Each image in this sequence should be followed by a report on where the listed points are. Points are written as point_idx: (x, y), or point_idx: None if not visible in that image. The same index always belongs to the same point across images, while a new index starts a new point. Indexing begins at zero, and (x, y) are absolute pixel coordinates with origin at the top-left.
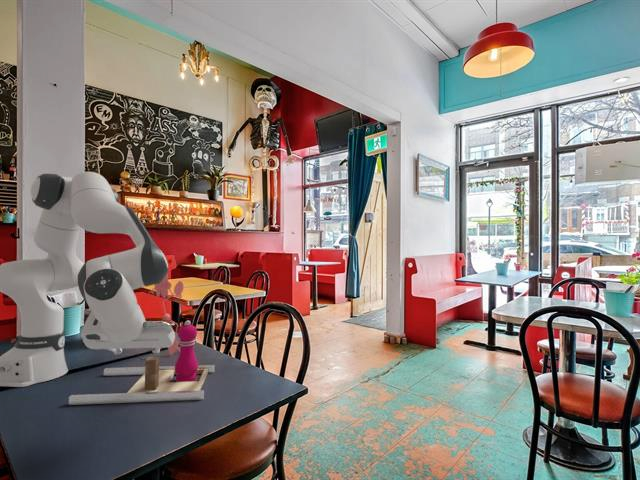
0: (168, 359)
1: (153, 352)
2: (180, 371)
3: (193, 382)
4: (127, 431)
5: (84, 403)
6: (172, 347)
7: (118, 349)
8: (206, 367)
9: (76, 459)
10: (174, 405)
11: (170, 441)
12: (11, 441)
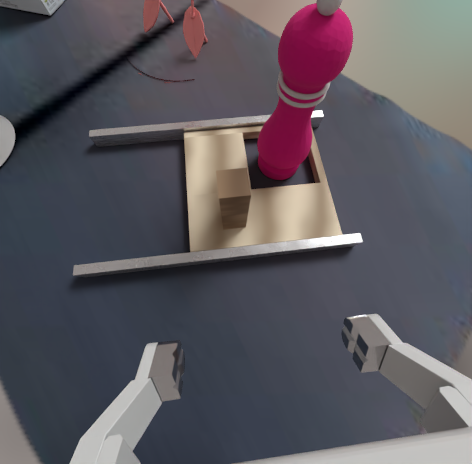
0: (197, 72)
1: (352, 351)
2: (280, 165)
3: (311, 188)
4: (264, 393)
5: (115, 273)
6: (193, 34)
7: (169, 392)
8: None
9: None
10: (306, 274)
11: (376, 437)
12: (40, 444)
